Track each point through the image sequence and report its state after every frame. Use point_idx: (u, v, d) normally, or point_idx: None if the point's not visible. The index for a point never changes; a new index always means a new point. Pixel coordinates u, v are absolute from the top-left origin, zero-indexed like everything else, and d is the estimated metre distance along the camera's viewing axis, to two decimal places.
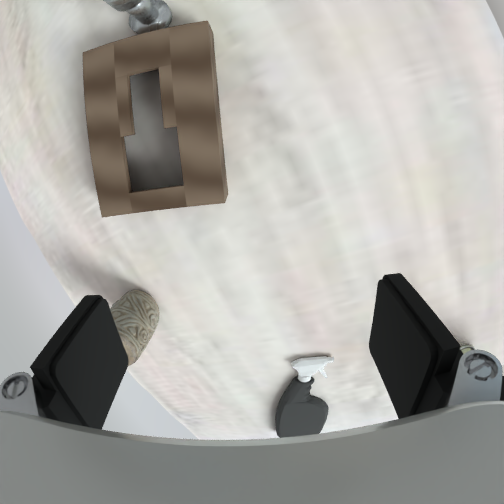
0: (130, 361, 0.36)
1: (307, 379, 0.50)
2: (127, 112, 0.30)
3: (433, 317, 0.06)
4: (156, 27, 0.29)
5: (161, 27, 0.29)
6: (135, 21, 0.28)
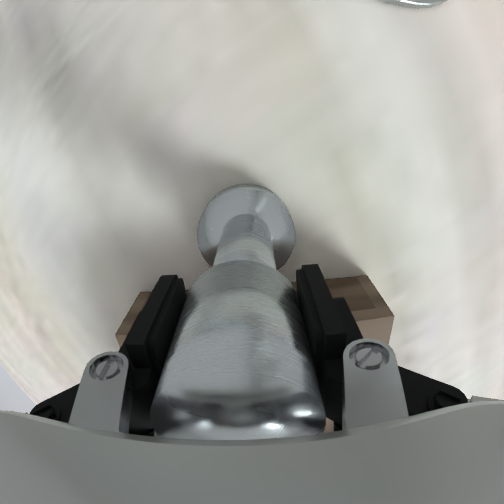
0: None
1: None
2: None
3: (330, 304, 0.08)
4: None
5: (276, 268, 0.19)
6: (214, 245, 0.18)
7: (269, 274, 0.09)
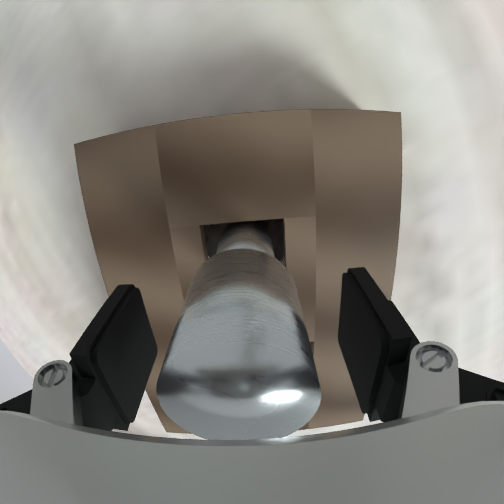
0: None
1: None
2: None
3: (388, 308, 0.07)
4: None
5: None
6: (216, 239, 0.18)
7: (268, 261, 0.10)
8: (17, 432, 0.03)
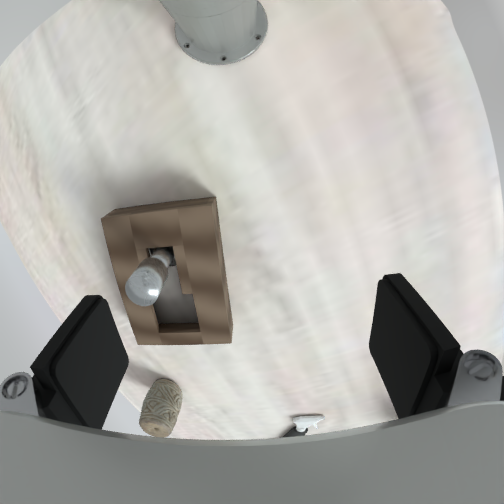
0: (166, 435, 0.48)
1: (303, 430, 0.62)
2: None
3: (433, 317, 0.06)
4: None
5: None
6: None
7: (156, 260, 0.36)
8: (17, 432, 0.03)
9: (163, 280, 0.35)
